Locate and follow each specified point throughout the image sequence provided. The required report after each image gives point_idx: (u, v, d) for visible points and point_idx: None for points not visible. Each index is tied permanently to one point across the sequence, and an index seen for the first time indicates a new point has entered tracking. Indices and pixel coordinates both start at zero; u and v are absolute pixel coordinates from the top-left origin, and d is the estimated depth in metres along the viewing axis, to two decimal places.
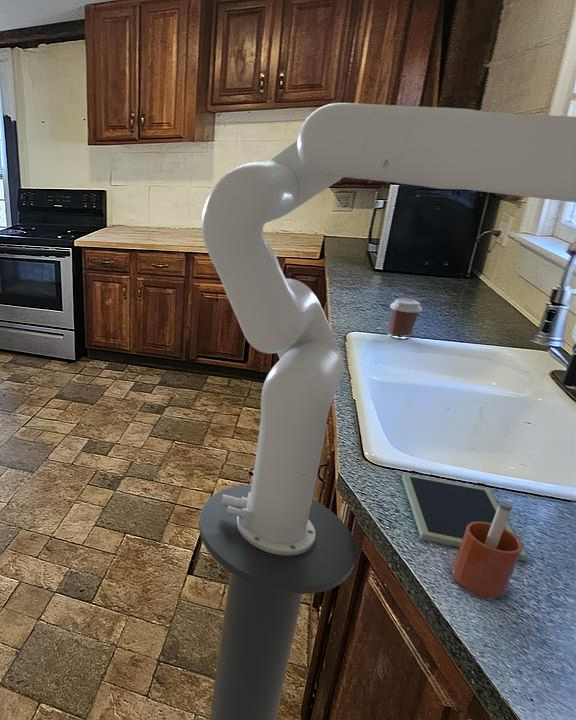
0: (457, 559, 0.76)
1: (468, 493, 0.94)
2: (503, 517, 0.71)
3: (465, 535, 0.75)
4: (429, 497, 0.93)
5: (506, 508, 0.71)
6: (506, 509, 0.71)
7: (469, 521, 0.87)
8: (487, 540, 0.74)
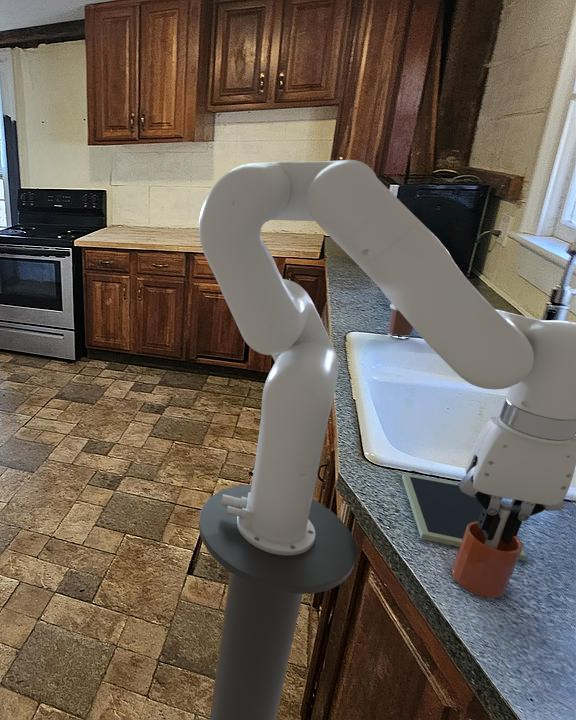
0: (457, 559, 0.76)
1: None
2: (503, 517, 0.71)
3: (465, 535, 0.75)
4: (429, 497, 0.93)
5: (506, 508, 0.71)
6: (506, 509, 0.71)
7: (469, 521, 0.87)
8: (487, 540, 0.74)
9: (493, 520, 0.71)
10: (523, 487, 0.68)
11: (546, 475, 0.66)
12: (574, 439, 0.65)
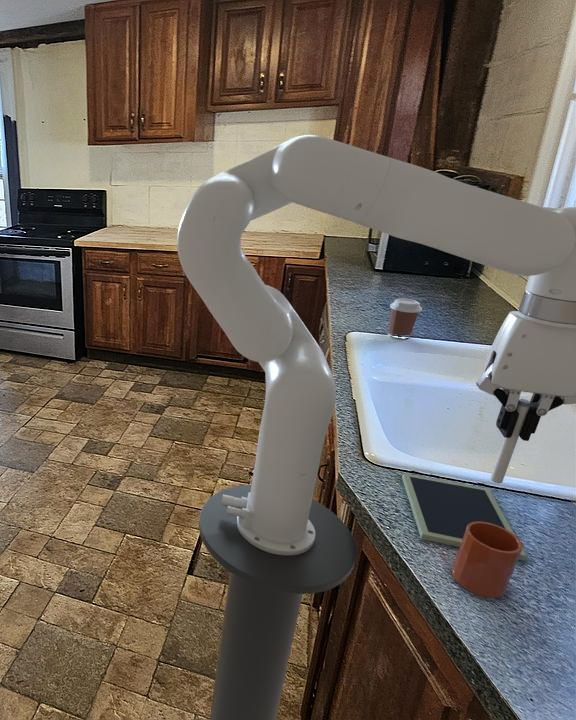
0: (457, 559, 0.76)
1: (468, 493, 0.94)
2: (521, 414, 0.72)
3: (465, 535, 0.75)
4: (429, 497, 0.93)
5: (525, 404, 0.71)
6: (525, 405, 0.71)
7: (469, 521, 0.87)
8: (505, 440, 0.74)
9: (511, 416, 0.72)
10: (542, 378, 0.68)
11: (565, 364, 0.67)
12: None
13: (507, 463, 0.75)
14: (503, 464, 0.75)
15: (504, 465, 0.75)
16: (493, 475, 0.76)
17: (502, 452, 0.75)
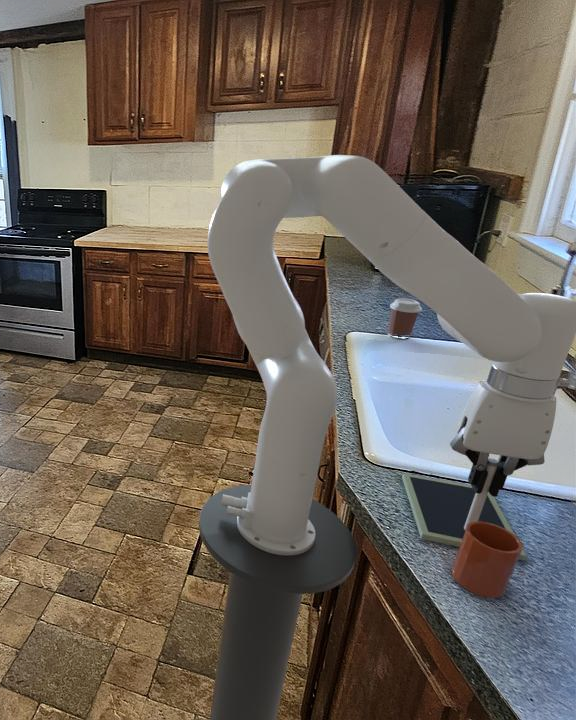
0: (457, 559, 0.76)
1: (468, 493, 0.94)
2: (490, 472, 0.79)
3: (465, 535, 0.75)
4: (429, 497, 0.93)
5: (493, 464, 0.79)
6: (493, 465, 0.79)
7: None
8: (476, 494, 0.82)
9: (481, 475, 0.79)
10: (507, 443, 0.76)
11: (528, 432, 0.74)
12: (552, 399, 0.73)
13: (478, 515, 0.82)
14: (474, 516, 0.83)
15: (475, 517, 0.83)
16: (466, 525, 0.84)
17: (473, 505, 0.82)
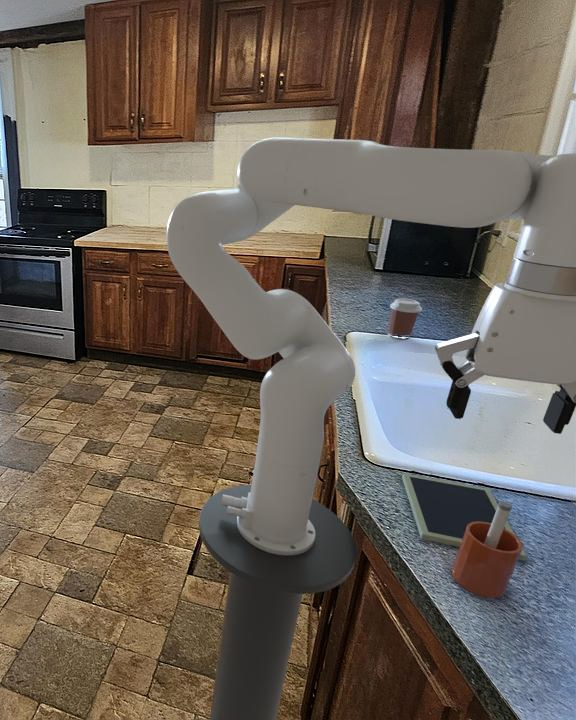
0: (457, 559, 0.76)
1: (468, 493, 0.94)
2: (503, 517, 0.71)
3: (465, 535, 0.75)
4: (429, 497, 0.93)
5: (506, 508, 0.71)
6: (506, 509, 0.71)
7: (469, 521, 0.87)
8: (487, 540, 0.74)
9: (462, 394, 0.61)
10: (533, 363, 0.57)
11: (561, 345, 0.56)
12: None
13: None
14: None
15: None
16: None
17: None
